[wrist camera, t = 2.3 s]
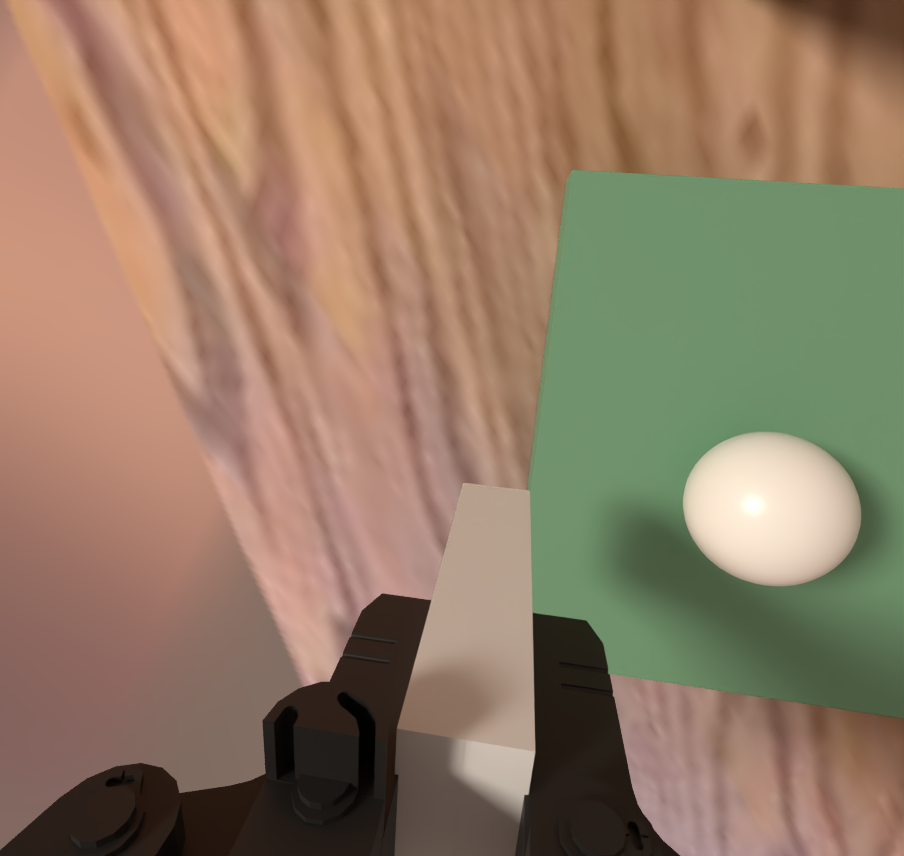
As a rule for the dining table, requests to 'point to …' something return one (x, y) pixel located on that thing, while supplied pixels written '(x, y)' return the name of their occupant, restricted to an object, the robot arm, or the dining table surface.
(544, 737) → the robot arm
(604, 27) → the dining table surface
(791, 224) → the putting mat
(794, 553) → the ball
